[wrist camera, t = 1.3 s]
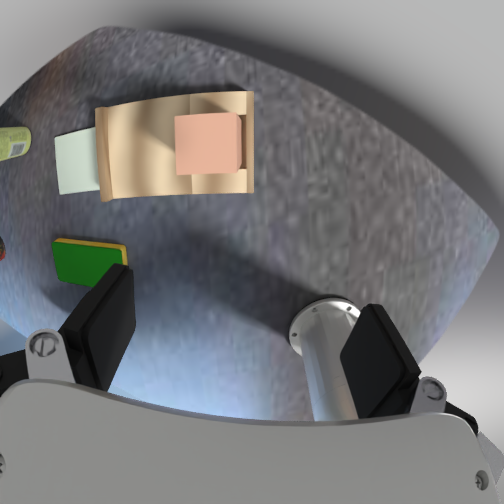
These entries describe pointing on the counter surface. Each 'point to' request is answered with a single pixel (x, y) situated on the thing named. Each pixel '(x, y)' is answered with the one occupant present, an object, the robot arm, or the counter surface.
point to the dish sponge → (85, 260)
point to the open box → (166, 146)
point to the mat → (77, 161)
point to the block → (208, 143)
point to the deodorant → (2, 249)
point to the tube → (14, 142)
